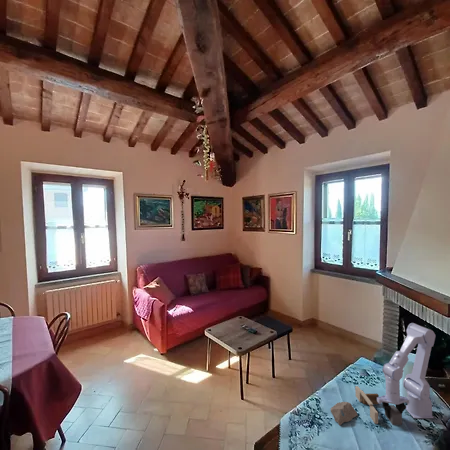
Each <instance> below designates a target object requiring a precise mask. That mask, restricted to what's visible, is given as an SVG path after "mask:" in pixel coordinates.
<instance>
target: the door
mask: <svg viewBox="0 0 450 450" xmlns="http://www.w3.org/2000/svg"><path fill="white" fill-rule="evenodd" d="M365 394H366V396H367V397H368V398H369V400H370V401H371V402H372V403H373V405H380V404H379V403H378V402H377V397H380V395H379V394H378V393H365ZM361 403H362V404H363V405H369V404H368V403H367V401H366V400H365V399H364V397H363V396H362V402H361Z"/></svg>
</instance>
